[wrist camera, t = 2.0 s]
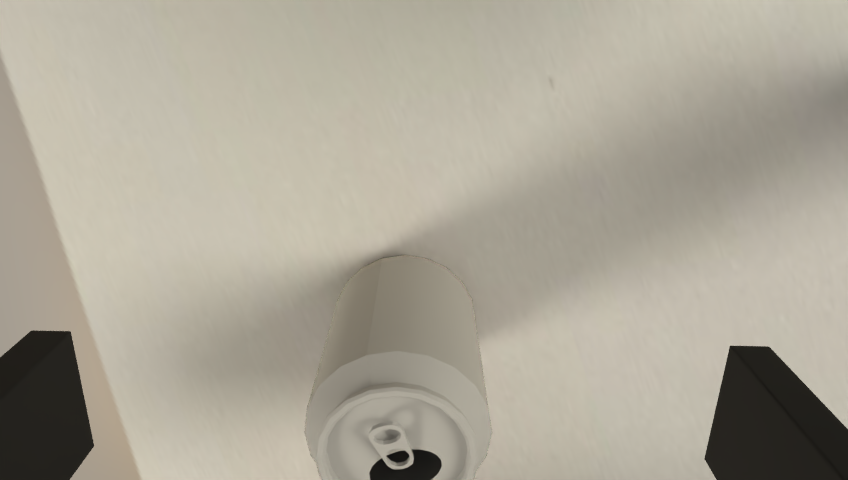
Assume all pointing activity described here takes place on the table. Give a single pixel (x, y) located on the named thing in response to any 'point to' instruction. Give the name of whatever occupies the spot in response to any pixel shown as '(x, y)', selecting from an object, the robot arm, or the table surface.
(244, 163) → the table surface
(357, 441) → the can
